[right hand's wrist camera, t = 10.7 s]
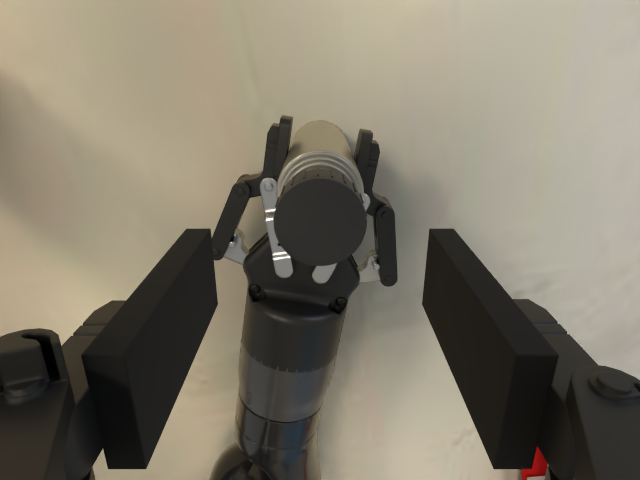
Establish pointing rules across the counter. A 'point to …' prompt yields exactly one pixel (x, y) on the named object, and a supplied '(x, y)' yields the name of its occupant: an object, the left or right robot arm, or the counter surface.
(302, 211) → the cap
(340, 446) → the counter surface
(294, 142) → the bottle
